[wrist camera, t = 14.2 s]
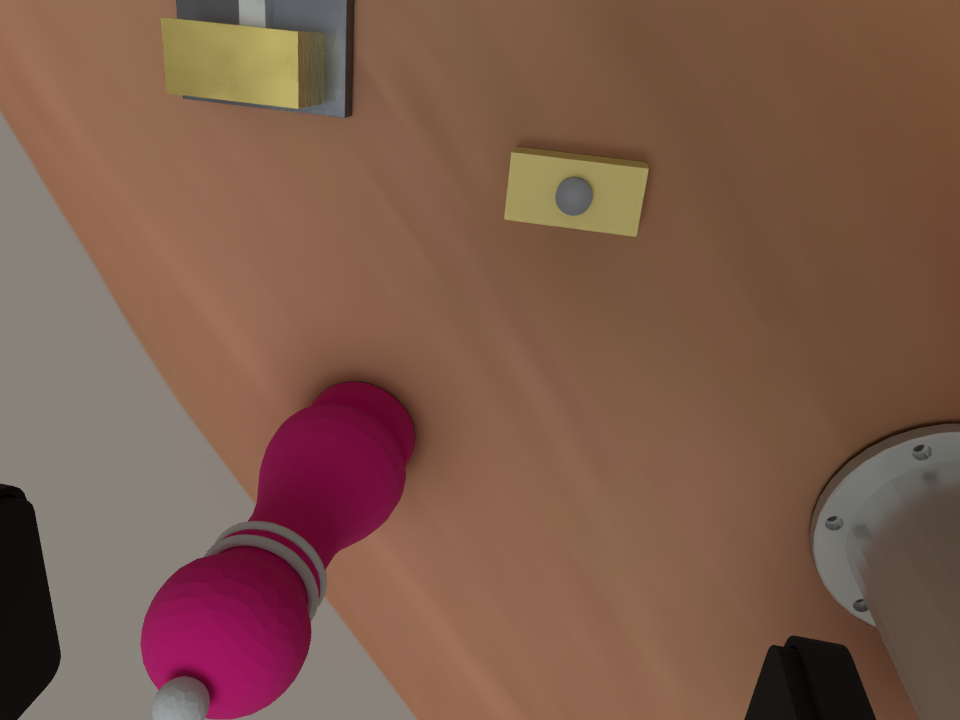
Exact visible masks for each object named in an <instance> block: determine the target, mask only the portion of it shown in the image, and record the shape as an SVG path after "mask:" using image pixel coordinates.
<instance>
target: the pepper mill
mask: <svg viewBox="0 0 960 720" xmlns="http://www.w3.org/2000/svg"><path fill="white" fill-rule="evenodd" d="M414 442H415V435H414V428H413V424H412V422H411V419H410V417H409V415H408V413H407V411H406V410H405V409H404V407H403V406H402V405H401V404H400V402H399V401H398V400H396V399H395V398H394V397H393V396H392V395H390V394H389V393H387V392H386V391H384V390H382V389H381V388H379V387H376V386H373V385H370V384H366V383H361V382H347V383H341V384H338V385H335V386H332V387H330V388H328V389H327V390H325V391H324V392H323V393H322V394H320V395H319V396H318V398H317V399H316V400H315V401H314V402H313V403H312V405H311V406H310V407H308V408H305V409H302V410H300V411H299V412H297V413H295V414H294V415H292V416H291V417H289V418H288V419H287V420H286V421H285V422H284V423H283V424H282V425H281V426H280V428H279V429H278V430H277V432H276V433H275V435H274V436H273V438H272V439H271V441H270V443H269V445H268V447H267V449H266V452H265V455H264V458H263V461H262V465H261V468H260V474H259V485H258V497H257V504H256V507H255V509H254V513H253V515H252V516H251V517H250V519H249V520H248V522H243V523H239V524H237V525H234V526H232V527H230V528H229V529H227V530H225V531H224V532H223V533H222V534H221V535H220V536H219V537H218V539H217V541H216V542H215V544H214V545H213V546H212V547H211V548H210V549H209V550H208V551H207V553H206V554H205V556H204V557H203V558H199V559H196V560H194V561H192V562H191V563H189V564H187V565H185V566H184V567H182V568H180V569H179V570H178V571H176V572H175V573H174V574H173V575H172V576H171V577H170V578H169V579H168V580H167V581H166V582H165V583H164V585H163V586H162V587H161V588H160V590H159V591H158V592H157V594H156V596H155V597H154V599H153V600H152V602H151V605H150V607H149V609H148V611H147V614H146V616H145V620H144V623H143V628H142V635H141V651H142V657H143V663H144V666H145V668H146V670H147V672H148V675H149V677H150V678H151V680H152V682H153V683H154V684H155V686H156V687H157V689H158V690H159V691H158V693H157V694H156V696H155V698H154V701H153V705H152V715H153V719H154V720H204V718H208V719H235V718H239V717H243V716H247V715H251V714H253V713H255V712H257V711H259V710H261V709H263V708H265V707H267V706H268V705H270V704H271V703H272V702H273V701H275V700H276V699H277V698H278V697H280V696H281V695H282V694H283V693H284V692H285V691H286V690H287V688H288V687H289V686H290V685H291V684H292V682H293V681H294V680H295V678H296V677H297V675H298V673H299V671H300V670H301V668H302V665H303V663H304V661H305V659H306V656H307V654H308V650H309V645H310V641H311V622H310V621H311V620H312V619H313V617H314V615H315V613H316V611H317V608H318V606H319V605H320V604H321V602H322V600H323V598H324V596H325V593H326V588H327V577H326V572H325V570H326V568H327V566H328V564H329V563H330V561H331V560H332V558H333V557H334V555H335V554H336V553H337V552H338V551H340V550H342V549H344V548H346V547H348V546H350V545H352V544H354V543H356V542H358V541H360V540H362V539H364V538H365V537H367V536H368V535H369V534H371V533H372V532H373V531H375V530H376V529H377V528H379V527H380V526H381V525H382V524H383V523H384V522H385V521H386V520H387V519H388V517H389V516H390V514H391V513H392V511H393V510H394V508H395V507H396V505H397V504H398V502H399V500H400V498H401V496H402V493H403V490H404V484H405V479H406V474H405V467H406V465H407V463H408V461H409V459H410V457H411V455H412V452H413V449H414Z"/></svg>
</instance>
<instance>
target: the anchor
mask: <svg viewBox="0 0 960 720" xmlns="http://www.w3.org/2000/svg"><path fill="white" fill-rule="evenodd" d="M648 171H649V168H648V164H647V162H641V161H633V160H624V159H616V158H608V157H599V156H591V155H583V154H574V153H566V152H558V151H549V150H541V149H533V148H524V147H516V148H515V149H514V150H513V151H512V152H511V160H510V169H509V179H508V188H507V197H506V206H505V216H504V220H512V221H519V222H527V223H534V224H542V225H549V226H557V227H565V228H572V229H580V230H587V231H595V232H603V233H610V234H618V235H625V236H633V237H636V236H637V231H638V225H639V220H640V214H641V209H642V203H643V198H644V192H645V187H646V182H647V176H648Z"/></svg>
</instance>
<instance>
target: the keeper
mask: <svg viewBox="0 0 960 720" xmlns="http://www.w3.org/2000/svg"><path fill="white" fill-rule="evenodd" d="M176 5H177V18H165V17H161V27H162V41H163V54H164V67H165V80H166V93H168V94H177V95H183V99H191V100H200V101H208V102H216V103H225V104H233V105H242V106H250V107H259V108H267V109H276V110H284V111H292V112H301V113H309V114H318V115H326V116H335V117H343V118H345V117H349V116H352V74H353V26H354V0H176Z"/></svg>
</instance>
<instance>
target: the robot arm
mask: <svg viewBox="0 0 960 720" xmlns="http://www.w3.org/2000/svg"><path fill="white" fill-rule="evenodd" d="M810 545H811V553H812V556H813V559H814V562H815V565H816V568H817V571H818V573H819V575H820V577H821V579H822V581H823V583H824V585H825V587H826V589H827V590H828V591H829V592H830V594H831V595H832V596H833V597H834V599H835V600H836V601H837V602H838V603H839V604H840V605H841V606H842V607H843V608H845V609H846V610H847V611H848V612H849V613H851V614H852V615H854V616H855V617H857V618H859V619H861V620H863V621H864V622H866V623H868V624H870V625H872V626H874V627H877V629H878V632H879V634H880V636H881V638H882V640H883V643H884V645H885V647H886V649H887V652H888V654H889V656H890V658H891V660H892V663H893V665H894V667H895V669H896V672H897V674H898V676H899V678H900V680H901V683H902V685H903V687H904V689H905V692H906V694H907V696H908V698H909V700H910V703H911V705H912V707H913V709H914V711H915V714H916V716H917V718H918V720H960V424H941V425H935V426H928V427H922V428H917V429H914V430H910V431H907V432H904V433H901V434H898V435H894V436H892V437H890V438H887V439H885V440H883V441H881V442H879V443H877V444H875V445H873V446H871V447H869V448H868V449H866V450H865V451H863V452H862V453H860V454H859V455H858V456H856V457H855V458H853V459H852V460H851V461H849V462H848V463H847V464H846V465H845V466H844V467H843V468H842V469H841V470H840V471H839V472H838V473H837V474H836V475H835V476H834V477H833V478H832V479H831V481H830V482H829V484H828V485H827V487H826V488H825V490H824V491H823V493H822V494H821V496H820V497H819V500H818V502H817V505H816V507H815V510H814V512H813V515H812V521H811V527H810ZM60 659H61V653H60V646H59V641H58V635H57V630H56V625H55V619H54V614H53V609H52V603H51V597H50V592H49V586H48V581H47V576H46V570H45V565H44V560H43V554H42V549H41V543H40V538H39V532H38V527H37V522H36V516H35V511H34V508H33V505H32V504H31V503H30V502H29V501H27V499H26V497H25V494H24V492H23V491H22V490H21V489H20V488H17V487H14V486H10V485H5V484H0V720H17V719H18V718H19V717H20V716H21V715H22V714H23V713H24V711H25V710H26V709H27V708H28V707H29V706H30V705H31V704H32V702H33V701H34V700H35V699H36V698H37V697H38V696H39V695H40V693H41V692H42V691H43V690H44V689H45V688H46V687H47V685H48V684H49V683H50V682H51V680H52V679H53V678H54V676H55V674H56V672H57V670H58V667H59V664H60ZM745 720H876V718H875V715H874V713H873V710H872V708H871V705H870V703H869V700H868V697H867V695H866V692H865V690H864V687H863V684H862V682H861V679H860V677H859V674H858V672H857V669H856V666H855V664H854V661H853V659H852V656H851V654H850V652H849V650H848V649H847V648H846V647H845V646H844V645H841V644H835V643H830V642H825V641H820V640H814V639H809V638H804V637H799V636H790V637H789V638H788V639H787V641H786V643H785V645H784V647H782V646H776V645H772V646H771V647H770V648H769V650H768V652H767V655H766V657H765V660H764V663H763V666H762V669H761V672H760V675H759V678H758V681H757V684H756V687H755V690H754V693H753V696H752V699H751V702H750V705H749V708H748V711H747V714H746V717H745Z"/></svg>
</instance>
